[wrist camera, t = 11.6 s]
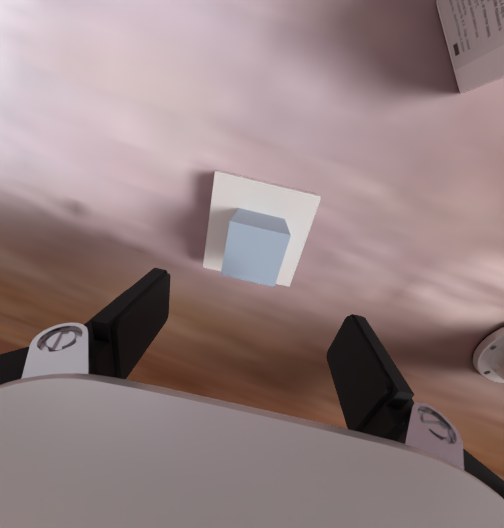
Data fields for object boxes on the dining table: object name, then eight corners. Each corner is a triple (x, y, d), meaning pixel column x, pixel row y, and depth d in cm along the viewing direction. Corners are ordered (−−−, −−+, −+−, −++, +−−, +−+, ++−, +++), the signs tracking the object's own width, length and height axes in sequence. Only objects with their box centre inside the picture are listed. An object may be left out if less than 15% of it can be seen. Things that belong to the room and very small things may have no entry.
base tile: (314, 193, 23) (321, 196, 20) (287, 275, 28) (289, 286, 25) (221, 170, 23) (215, 171, 20) (209, 257, 27) (202, 267, 25)
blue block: (284, 218, 22) (290, 235, 16) (272, 260, 24) (274, 286, 18) (239, 207, 21) (229, 220, 16) (231, 250, 23) (220, 274, 18)
